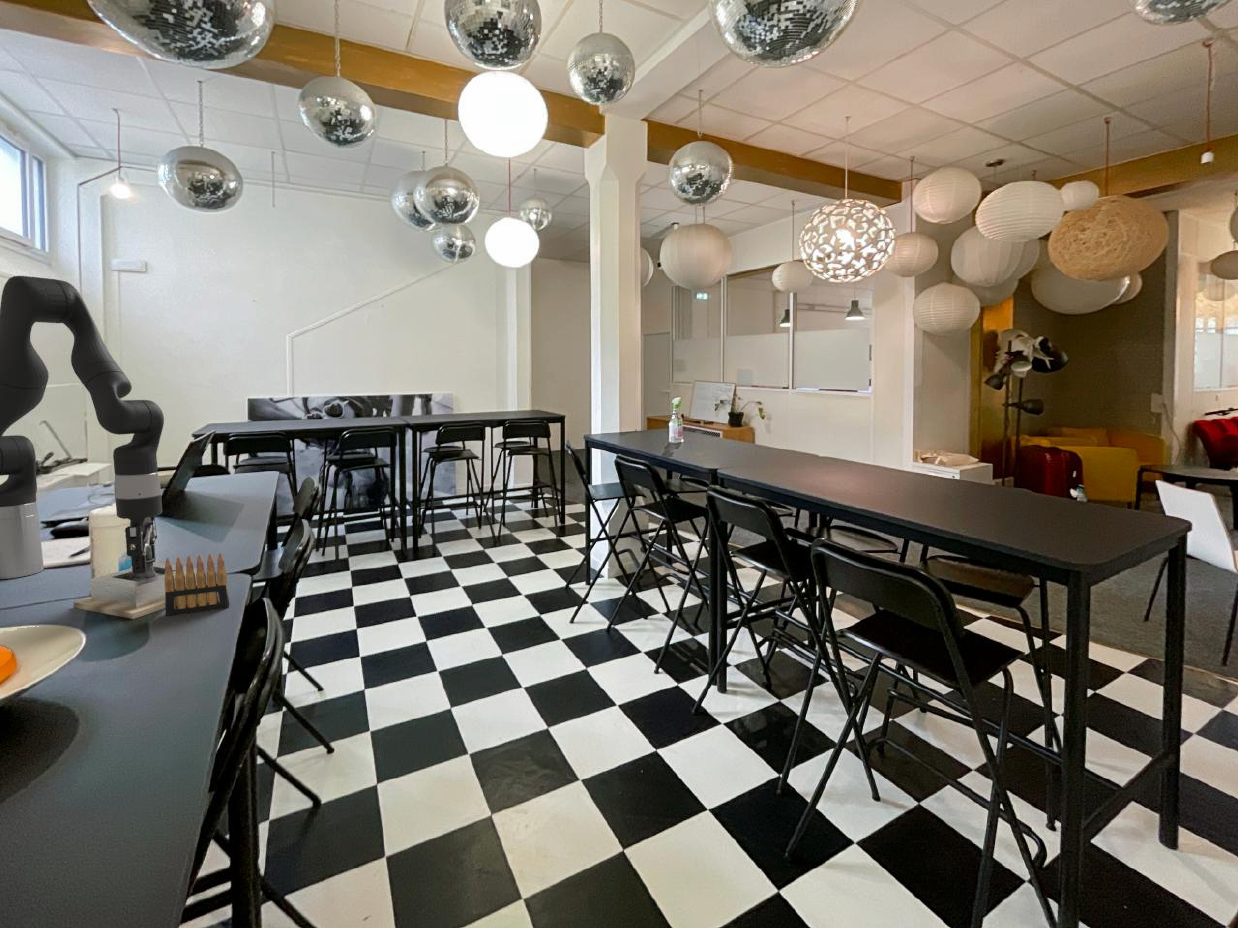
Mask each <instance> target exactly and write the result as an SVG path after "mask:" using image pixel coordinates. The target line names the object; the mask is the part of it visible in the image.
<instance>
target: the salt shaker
mask: <svg viewBox="0 0 1238 928" xmlns="http://www.w3.org/2000/svg"><path fill="white" fill-rule="evenodd" d="M138 549H139V546H138V547H135V548H134V550H138ZM145 556H146V568H147V570H146V572H145V573H139V574H135V575H134V576H133V577H130V578H129V579H128V580H131V581H137V582H140V581H143V580H147V579H150V578H153V577H157V576H160V575H162V574H160V573H156V572H155V571H154V568H153V562H155V560H156V558H155V559H154V558H152V549H151V546H150V545H148V546H146V554H145Z"/></svg>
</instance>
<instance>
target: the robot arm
mask: <svg viewBox="0 0 1238 928" xmlns="http://www.w3.org/2000/svg"><path fill="white" fill-rule="evenodd" d="M1 293H2V294H1V300H0V476H1V477H2V476H8V477H7V478H6V480H5V481H4V482H2V483H1V484H0V580H4V579H5V580H6V579H15V578H22V577H26V576H31V575H34V574H38V573H40V572H42V571H44V558H43V548H42V547H43V546H42V538H41V529H40V522H39V521H40V518H39V512H38V501H37V491H38V482H37V457H36V449H35V446H34V444H33V443H32V441H31V440H30V439H29V438H28V437H27V436H26V435H25V436H24V435H20V434H19V435H18V434H15V435H4V433H5V432H6V431H7V430H8V429H9V428H10V427H11V426H12V425H14V424H15V423H16V422H18V421H19V420H20V419H22V418H24V416H26V415H27V414H29V413H30V412H31V411H33V410H34V409H35V408H36V407H37V406H38V405H39V404H40V403H41V402H42V400H43V398H44V395H45V392H46V390H47V388H46V387H47V386H48V382H49V375H50V374H49V371H48V368H47V366H46V364H45V362H44V361H43V359H42V358H41V357H40V355H39V354H38V352H37V350H36V349H35V348H34V346H33V344H32V342H31V334H32V328H33V325H34V324H35V323H47V324H64V325H65V327H66V328H67V329H68V330H69V331H70V332H71V334H72V336H73V340H74V341H73V346H72V350H71V355H70V364H71V367H72V369H73V371H74V373H75V375H76V377H77V378H78V379H79V380H80V382H81V383H82V384H83V386H84V388H85V389H86V390H87V391H88V393H89V395H90V397H91V402H92V404H93V406H94V407H93V408H94V411H95V414H96V415H95V416H96V419H97V421H98V424H99V425H100V427H101V428H102V429H104V430H105V431H106V432H109V433H110V434H113V435H119V436H120V435H133V436H132V438H131V441H130V442H128V443H125V444H124V445H120V446H117V447H116V448H114V450H113V453H112V458H113V468H114V471H113V472H114V482H113V484H114V485H113V486H114V487H113V488H114V500H115V507H116V508H115V509H116V517H118V518H120V519H123V520H125V519H127V520H129V526H128V525H127V527H125V529H124V532H125V544H126V545H125V548H126V556H127V557H130V558H131V568H132V572H133V573H134V574H139V573H145V572H146V570H147V568H146V556H145V554H146V546H148V545H150V546H151V549H152V558H154V559H155V560H156V551H155V550H156V549H155V545H156V542H157V541H156V540H157V539H158V535H157V527H156V526H157V525H156V517H157V516H159V515H161V514H162V513H163V503H162V491H161V490H162V489H161V481H160V477H159V473H158V459H157V458H158V457H157V452H158V449H159V444H160V441H161V437H162V433H163V429H164V425H165V424H164V423H165V417H164V413H163V410H162V409H161V406H159V405H158V404H157V403H156V402H154V401H153V400H149V399H148V400H147V399H125V400H123V398H125V397H127V396H128V395H129V394H130V392H132V388H133V387H132V383H131V381H130V380H129V378H128V377H127V375H126V373H124V371H123V370H122V368H121V367H120V365H119V364H118V363H117V362H116V360H115V359H114V357H113V356H112V354H111V353H110V352H109V350H108V348H107V346H106V344H105V342H104V340H103V339H102V336H101V334H100V331H99V330H98V327H97V325H96V323H95V321H94V319H93V317H92V314H91V312H90V311H89V308H88V307H87V305H86V302H85V301H84V298H83V297H82V295H81V293H80V292H79V291H78V289H76V287H75V286H74V285H72V284H71V283H70V282H68V281H64V280H61V279H57V278H49V277H48V278H47V277H37V276H30V275H29V276H27V275H14V276H11V277H10V278H8V279H7V280H6V282H5V284H4V286H3V288H2V292H1ZM138 546H139V549H138V550H134V548H135V547H138Z"/></svg>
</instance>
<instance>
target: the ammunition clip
mask: <svg viewBox="0 0 1238 928" xmlns="http://www.w3.org/2000/svg"><path fill="white" fill-rule="evenodd" d="M182 561H183V560H182V559H181V558H180V557H179V556H177V558H176V562H175V565H176V576H175V580H174V576H173V571H172V565H173V563H172V561H171V560H170V558H169V557H168V558H166V560H165V579H164V581H165V608H164V610H165V617H173V616H180V615H187V614H195V613H203V612H209V611H217V610H223V609H225V610H226V609H229V608H230V597H229V591H228V581H227V579H228V577H227V571H226V566H225V559H224V556H223V554H222V552H219V554H218V556H217V571H216V568H215V563H214V558H213V555H212V554H211V553H209V554H208V556H207V562H206V565H207V567H206V570H207V571H206V572H205V564H204V559H203V557H202V555H200V554H199V555H198V556H197V559H196V568H197V573H196V578H195V573H194V568H195V567H194V562H193V559H192V557H191V556H190V555H188V556H187V559H186V565H185V567H186V584H185V576H184V571H183V562H182ZM196 583H197V586H196ZM175 584H176V589H175ZM186 595H187V596H186ZM176 598H177V604H176Z"/></svg>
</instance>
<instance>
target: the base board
mask: <svg viewBox="0 0 1238 928" xmlns="http://www.w3.org/2000/svg"><path fill="white" fill-rule="evenodd" d="M186 596H187V595H186ZM72 604H73V608H74V609H79V610H84V611H85V610H86V611H91V612H96V613H101V614H105V615H111V616H116V617H122V618H127V619H131V620H135V619H137V618H140V617H143V616H146V615H149V614H152V613H154V612H157V611H161V610H163V609H165V599H163V600H160V601H157V602H154V603H151V604H148V605H145V606H142V607H139V608H132V607H127V606H121V605H116V604H110V603H105V602H100V601H94V600H91V596H89V597H86V598H82V599H79V600H75V601H73V603H72ZM176 604H177V598H176Z"/></svg>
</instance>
